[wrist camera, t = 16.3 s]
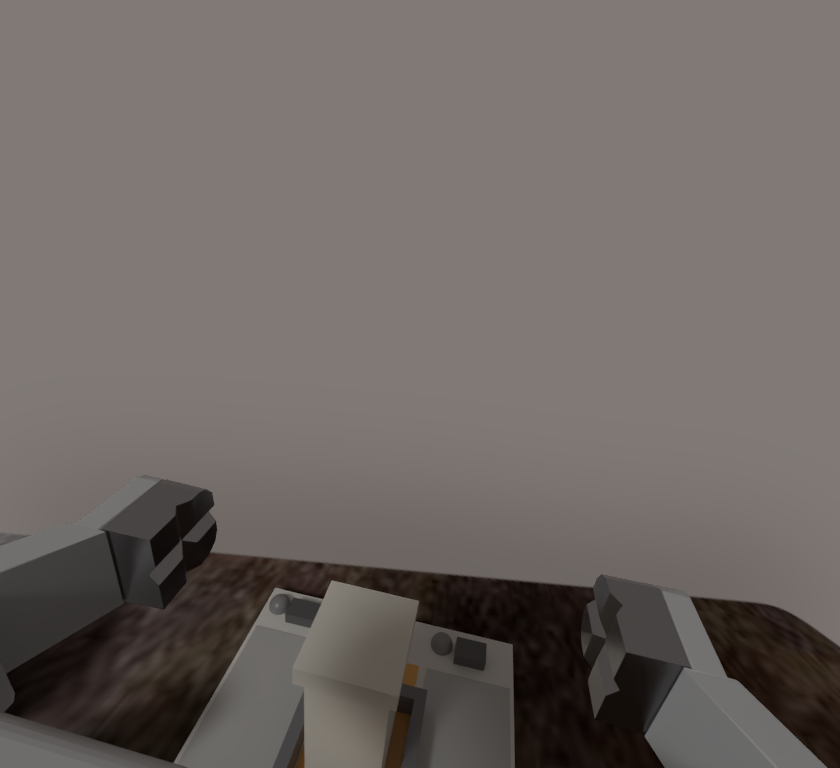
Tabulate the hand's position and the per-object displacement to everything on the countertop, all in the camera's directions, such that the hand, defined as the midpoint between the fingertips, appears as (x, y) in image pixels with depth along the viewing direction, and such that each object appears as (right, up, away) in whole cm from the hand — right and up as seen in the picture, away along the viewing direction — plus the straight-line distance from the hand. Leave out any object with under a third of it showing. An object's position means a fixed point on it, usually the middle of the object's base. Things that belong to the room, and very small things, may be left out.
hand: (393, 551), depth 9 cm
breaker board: (-4, -21, +21) cm, 30 cm away
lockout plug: (-4, -20, +19) cm, 28 cm away
